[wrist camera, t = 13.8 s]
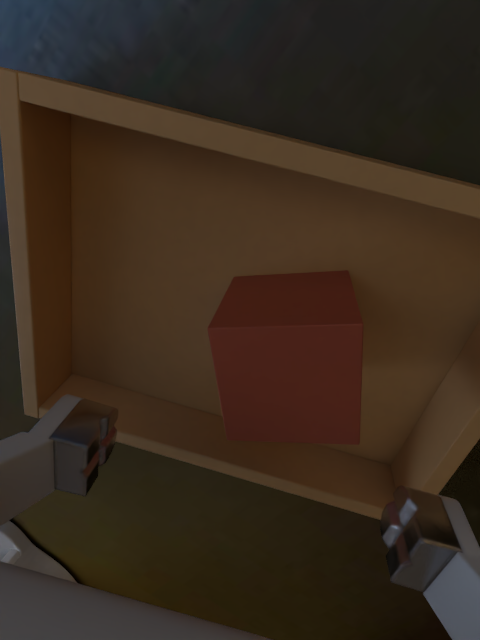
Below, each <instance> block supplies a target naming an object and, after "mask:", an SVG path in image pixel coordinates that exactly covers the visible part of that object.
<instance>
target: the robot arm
mask: <svg viewBox="0 0 480 640" xmlns="http://www.w3.org/2000/svg"><path fill="white" fill-rule="evenodd" d="M117 419H118V409H117V408H114V407H111V406H108V405H104V404H101V403H98V402H94V401H91V400H88V399H83V398H80V397H76V396H73V395H70V394H66V395H64V396H62V397H61V398H60V399H59V400H58V401H57V402H56V403H55V404H54V405H53V407H52V408H51V409H50V410H49V411H48V412H47V413H46V414H45V415H44V416H43V417H42V418H41V420H40V421H39V422H38V423H37V424H36V425H35V426H34V427H33V428H32V429H31V430H30V431H29V432H28V433H26V432H21V433H18V434H16V435H13V436H11V437H8V438H6V439H3V440H1V441H0V640H273V639H270V638H266V637H263V636H259V635H256V634H252V633H249V632H245V631H242V630H238V629H235V628H231V627H228V626H224V625H221V624H217V623H214V622H210V621H207V620H203V619H200V618H196V617H193V616H189V615H186V614H182V613H179V612H176V611H172V610H169V609H165V608H162V607H158V606H155V605H151V604H148V603H144V602H141V601H137V600H134V599H130V598H127V597H123V596H120V595H116V594H113V593H109V592H106V591H102V590H99V589H95V588H92V587H89V586H85V585H82V584H78V583H77V582H76V581H75V579H74V578H73V577H72V576H71V575H70V574H69V572H68V571H67V570H66V569H65V568H63V567H62V566H61V565H60V564H59V563H58V562H56V561H55V560H54V559H53V558H51V557H50V556H48V555H47V554H46V553H44V552H43V551H41V550H40V549H39V548H37V547H36V546H35V545H34V544H32V543H31V541H30V540H29V539H28V538H27V537H26V536H25V534H24V533H23V532H22V531H21V530H20V529H19V528H18V527H17V526H16V525H15V524H13V523H12V522H10V521H9V520H11V519H12V518H14V517H15V516H17V515H18V514H20V513H21V512H23V511H24V510H26V509H27V508H29V507H30V506H32V505H33V504H35V503H36V502H38V501H40V500H41V499H43V498H44V497H46V496H47V495H49V494H50V493H52V492H53V491H54V489H58V490H62V491H66V492H70V493H74V494H78V495H82V496H86V495H87V493H88V491H89V490H90V488H91V487H92V485H93V483H94V482H95V480H96V478H97V477H98V467H99V466H101V465H103V464H105V463H106V461H107V460H108V458H109V456H110V454H111V452H112V449H113V447H114V445H115V440H116V436H117V429H116V428H115V426H114V424H115V423H116V421H117ZM393 496H394V500H395V501H392V502H390V503H388V504H386V506H385V508H384V510H383V511H382V515H381V521H380V530H381V536H382V540H383V541H384V542H385V544H386V545H387V546H388V548H389V551H388V553H387V555H386V560H387V565H388V569H389V574H390V579H391V582H393V583H396V584H399V585H402V586H405V587H409V588H412V589H415V590H418V591H422V592H424V593H423V595H424V596H425V598H426V599H427V601H428V602H429V604H430V605H431V607H432V609H433V610H434V612H435V613H436V615H437V616H438V618H439V620H440V621H441V623H442V624H443V626H444V627H445V629H446V631H447V632H448V634H449V635H450V637H451V638H452V640H480V548H479V545H478V543H477V541H476V539H475V536H474V534H473V532H472V530H471V527H470V525H469V523H468V521H467V518H466V516H465V514H464V512H463V510H462V507H461V505H460V503H459V502H458V501H457V500H456V499H452V498H448V497H444V496H441V495H435V494H433V493H429V492H425V491H421V490H417V489H414V488H410V487H406V486H402V485H400V486H399V487H397V488H396V490H395V491H394V493H393Z"/></svg>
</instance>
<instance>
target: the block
mask: <svg viewBox="0 0 480 640" xmlns="http://www.w3.org/2000/svg"><path fill="white" fill-rule="evenodd" d="M363 329H364V324H363V321H362V317H361V313H360V310H359V306H358V303H357V299H356V296H355V292H354V289H353V285H352V281H351V278H350V274H349V271H348V270H344V271H326V272H308V273H290V274H272V275H254V276H236V277H234V278H233V279H232V281H231V283H230V285H229V287H228V289H227V291H226V293H225V295H224V297H223V299H222V301H221V303H220V305H219V307H218V309H217V311H216V313H215V314H214V316H213V318H212V320H211V322H210V324H209V326H208V328H207V330H208V336H209V341H210V347H211V353H212V358H213V364H214V370H215V375H216V381H217V387H218V392H219V398H220V404H221V409H222V415H223V421H224V427H225V432H226V438H227V440H231V441H260V442H289V443H318V444H347V445H359V444H360V422H361V391H362V360H363Z"/></svg>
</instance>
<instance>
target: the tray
mask: <svg viewBox="0 0 480 640" xmlns="http://www.w3.org/2000/svg"><path fill="white" fill-rule="evenodd" d="M0 133H1V145H2V157H3V168H4V180H5V192H6V203H7V215H8V227H9V239H10V250H11V262H12V274H13V285H14V297H15V309H16V320H17V332H18V344H19V355H20V367H21V379H22V390H23V402H24V414H25V415H28V416H32V417H35V418H40V419H41V418H42V417H43V416H44V415H45V414H46V413H47V412H48V411H49V410H50V409H51V408H52V407H53V405H54V404H55V403H56V402H57V401H58V400H59V399H60V398H61V397H62V396H64V395H66V394H70V395H73V396H76V397H80V398H83V399H88V400H91V401H94V402H98V403H101V404H104V405H108V406H111V407H114V408H117V409H118V419H117V421H116V423H115V424H114V426H115V428H116V429H117V436H116V440H115V441H116V442H120V443H123V444H127V445H130V446H133V447H137V448H140V449H143V450H147V451H150V452H154V453H157V454H160V455H164V456H167V457H170V458H174V459H177V460H181V461H184V462H187V463H191V464H194V465H197V466H201V467H204V468H207V469H211V470H214V471H218V472H221V473H224V474H228V475H231V476H234V477H238V478H241V479H245V480H248V481H251V482H255V483H258V484H261V485H265V486H268V487H272V488H275V489H278V490H282V491H285V492H288V493H292V494H295V495H299V496H302V497H305V498H309V499H312V500H315V501H319V502H322V503H326V504H329V505H332V506H336V507H339V508H342V509H346V510H349V511H353V512H356V513H359V514H363V515H366V516H369V517H373V518H376V519H380V520H381V515H382V511H383V510H384V508H385V506H386V504H388V503H390V502H392V501H395V500H394V496H393V493H394V491H395V490H396V488H397V487H399V486H400V485H402V486H406V487H410V488H414V489H417V490H421V491H425V492H429V493H433V494H435V495H438V494H439V492H440V491H441V490H442V488H443V487H444V486H445V484H446V483H447V482H448V480H449V479H450V478H451V476H452V475H453V473H454V472H455V471H456V469H457V468H458V467H459V465H460V464H461V463H462V461H463V460H464V459H465V457H466V456H467V455H468V453H469V452H470V451H471V449H472V448H473V447H474V445H475V444H476V443H477V441H478V440H479V439H480V185H476V184H472V183H468V182H464V181H460V180H457V179H453V178H449V177H445V176H441V175H437V174H433V173H429V172H425V171H421V170H417V169H413V168H409V167H405V166H401V165H397V164H393V163H389V162H386V161H382V160H378V159H374V158H370V157H366V156H362V155H358V154H354V153H350V152H346V151H342V150H338V149H334V148H330V147H326V146H322V145H318V144H315V143H311V142H307V141H303V140H299V139H295V138H291V137H287V136H283V135H279V134H275V133H271V132H267V131H263V130H259V129H255V128H251V127H247V126H244V125H240V124H236V123H232V122H228V121H224V120H220V119H216V118H212V117H208V116H204V115H200V114H196V113H192V112H188V111H184V110H180V109H176V108H172V107H169V106H165V105H161V104H157V103H153V102H149V101H145V100H141V99H137V98H133V97H129V96H125V95H121V94H117V93H113V92H109V91H105V90H101V89H98V88H94V87H90V86H86V85H82V84H78V83H74V82H70V81H66V80H61V79H57V78H52V77H47V76H42V75H37V74H32V73H28V72H23V71H18V70H13V69H8V68H3V67H0ZM344 270H348V271H349V274H350V278H351V281H352V285H353V289H354V292H355V296H356V299H357V303H358V306H359V310H360V313H361V317H362V321H363V324H364V329H363V360H362V391H361V422H360V444H359V445H347V444H318V443H289V442H260V441H231V440H227V438H226V432H225V427H224V421H223V415H222V409H221V404H220V398H219V392H218V387H217V381H216V375H215V370H214V364H213V358H212V353H211V347H210V341H209V336H208V330H207V328H208V326H209V324H210V322H211V320H212V318H213V316H214V314H215V313H216V311H217V309H218V307H219V305H220V303H221V301H222V299H223V297H224V295H225V293H226V291H227V289H228V287H229V285H230V283H231V281H232V279H233V278H234V277H236V276H254V275H272V274H290V273H308V272H326V271H344Z"/></svg>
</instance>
